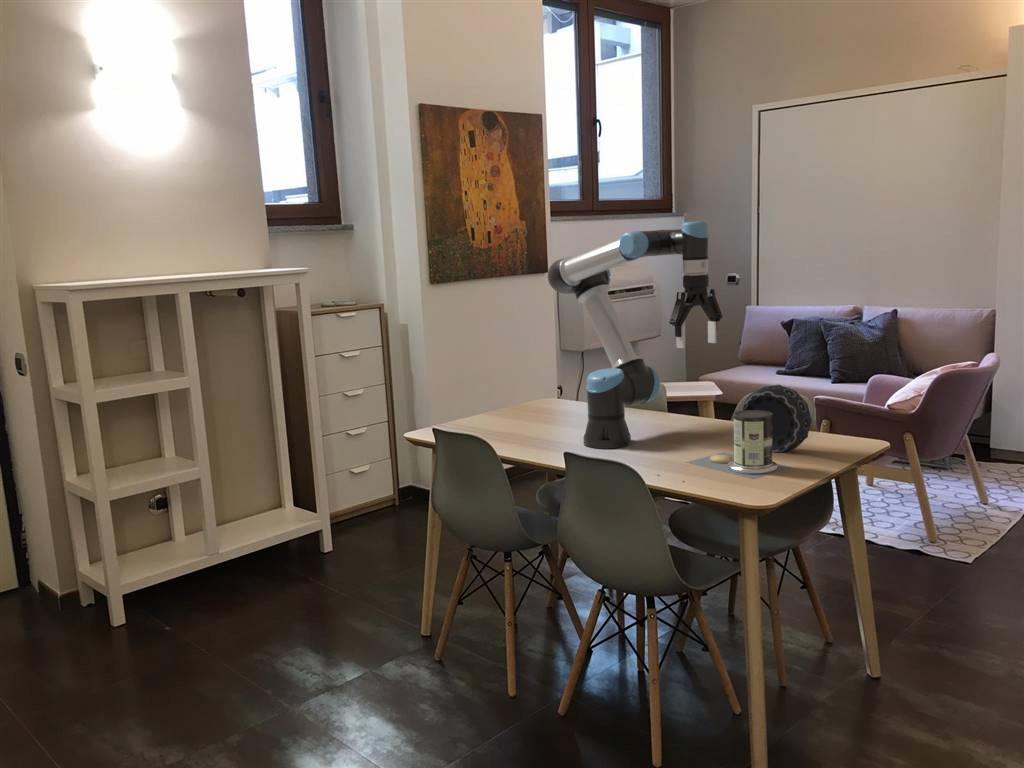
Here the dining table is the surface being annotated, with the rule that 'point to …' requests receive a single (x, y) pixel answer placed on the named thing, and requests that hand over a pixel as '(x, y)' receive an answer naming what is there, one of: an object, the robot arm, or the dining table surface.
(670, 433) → the dining table surface
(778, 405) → the dark patterned bowl
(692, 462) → the fitting board
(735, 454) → the coffee can
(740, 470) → the metal dome
